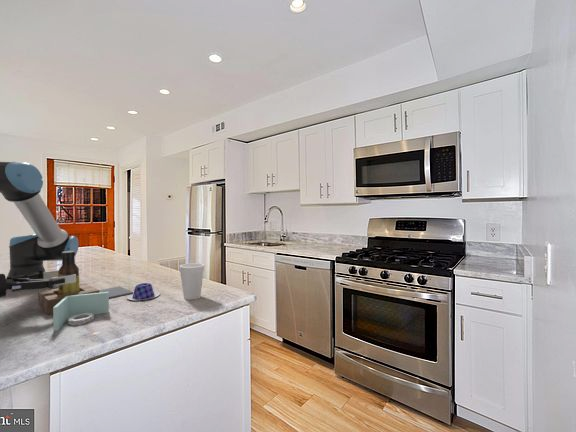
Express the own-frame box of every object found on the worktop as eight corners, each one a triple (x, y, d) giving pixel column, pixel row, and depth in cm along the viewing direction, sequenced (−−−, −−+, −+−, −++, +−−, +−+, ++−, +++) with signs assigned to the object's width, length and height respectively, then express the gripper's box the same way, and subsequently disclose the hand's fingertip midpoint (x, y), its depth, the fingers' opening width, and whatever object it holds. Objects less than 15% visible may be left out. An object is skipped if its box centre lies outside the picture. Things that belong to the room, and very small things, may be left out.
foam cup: (196, 301, 109) (196, 268, 109) (175, 300, 111) (174, 267, 111) (208, 294, 119) (208, 263, 118) (188, 293, 121) (188, 262, 120)
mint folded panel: (53, 332, 83) (53, 307, 83) (66, 318, 94) (66, 295, 94) (101, 326, 88) (101, 302, 88) (108, 313, 99) (108, 291, 99)
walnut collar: (38, 305, 105) (38, 291, 105) (86, 295, 117) (86, 283, 117) (48, 314, 96) (48, 300, 96) (99, 303, 107) (99, 290, 107)
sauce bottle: (58, 303, 107) (57, 251, 106) (79, 300, 111) (78, 249, 110) (58, 308, 102) (57, 253, 101) (79, 304, 106) (78, 251, 105)
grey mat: (88, 293, 120) (88, 292, 120) (119, 287, 129) (119, 286, 129) (100, 300, 111) (100, 298, 111) (132, 293, 120) (132, 291, 120)
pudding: (141, 292, 123) (140, 280, 123) (166, 293, 121) (165, 281, 120) (119, 301, 111) (119, 287, 111) (146, 303, 109) (146, 289, 109)
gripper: (-16, 291, 98) (61, 279, 114) (-8, 308, 82) (80, 291, 98) (-17, 270, 98) (61, 261, 114) (-9, 282, 82) (80, 270, 98)
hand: (70, 275), depth 106 cm, fingers open, 13 cm apart
